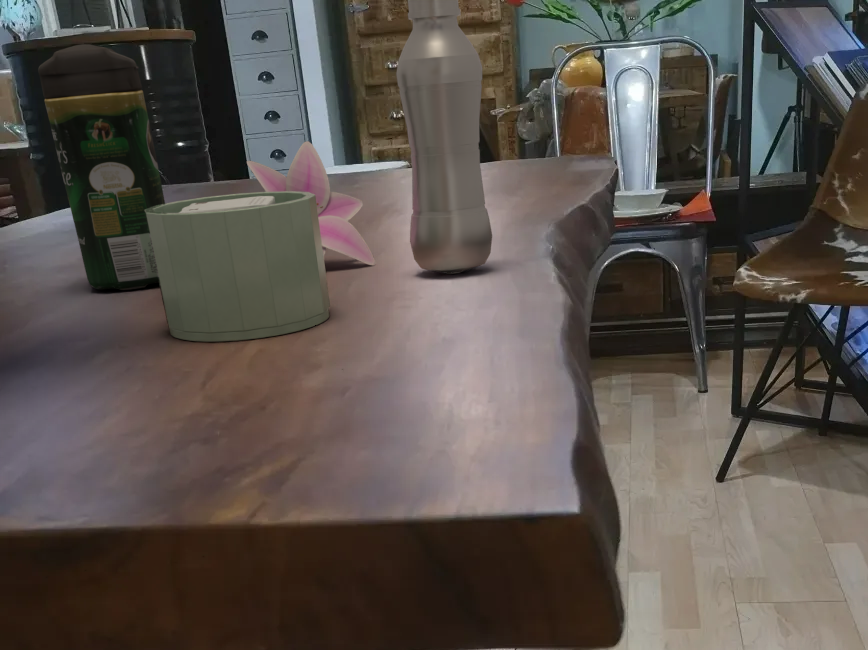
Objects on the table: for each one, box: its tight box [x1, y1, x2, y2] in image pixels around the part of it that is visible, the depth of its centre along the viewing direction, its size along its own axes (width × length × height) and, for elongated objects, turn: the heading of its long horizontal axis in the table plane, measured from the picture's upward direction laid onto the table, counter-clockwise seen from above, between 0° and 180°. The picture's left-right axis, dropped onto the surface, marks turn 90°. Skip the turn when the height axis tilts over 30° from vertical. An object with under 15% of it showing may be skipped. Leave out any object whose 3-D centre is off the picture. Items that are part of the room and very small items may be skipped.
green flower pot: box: [144, 191, 331, 343], centre depth 76 cm, size 11×11×8 cm
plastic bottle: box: [395, 0, 493, 275], centre depth 86 cm, size 6×7×20 cm
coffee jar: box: [37, 43, 166, 291], centre depth 93 cm, size 10×8×19 cm
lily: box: [246, 140, 376, 266], centre depth 96 cm, size 12×12×10 cm
